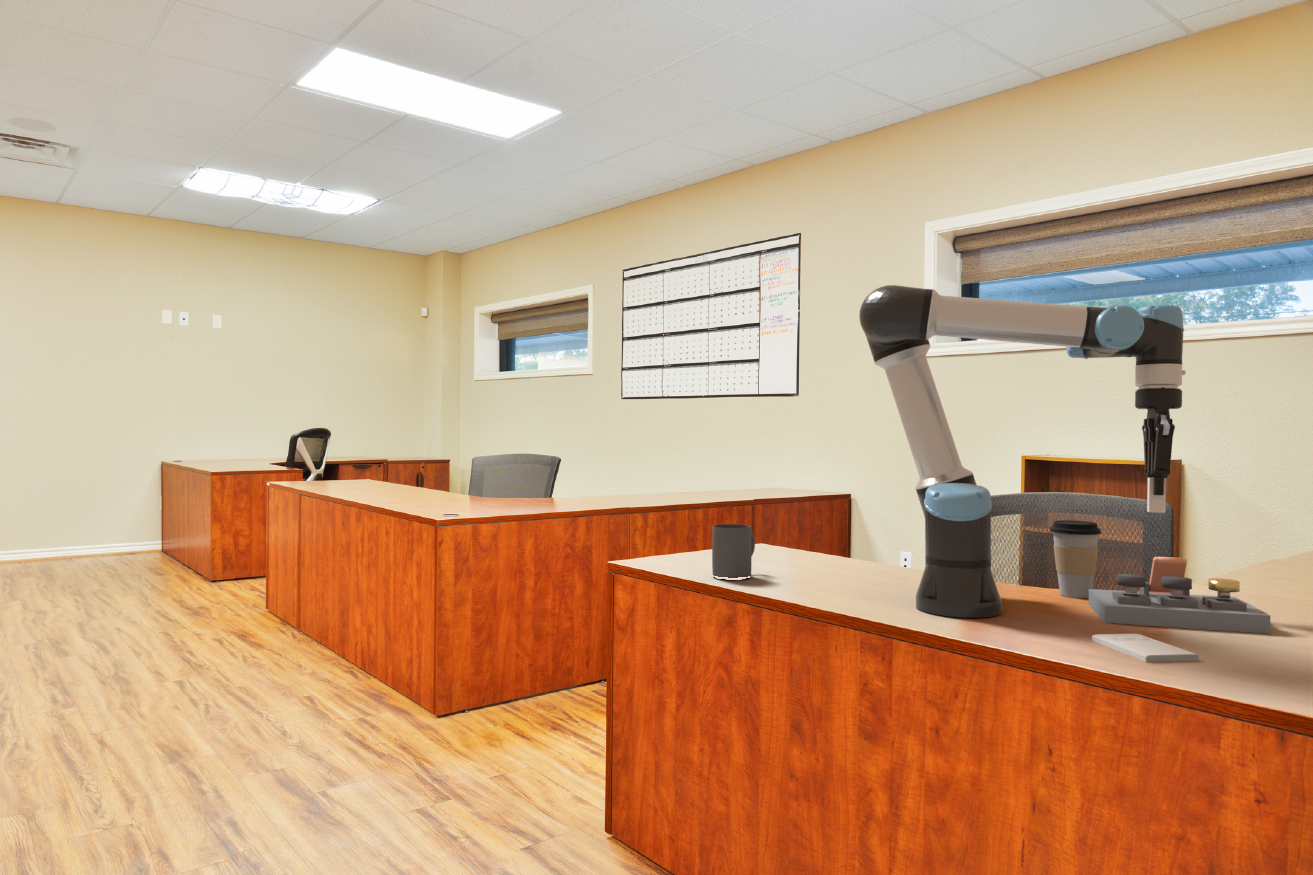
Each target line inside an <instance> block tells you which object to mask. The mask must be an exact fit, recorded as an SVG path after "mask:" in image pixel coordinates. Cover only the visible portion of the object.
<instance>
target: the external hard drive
mask: <svg viewBox="0 0 1313 875" xmlns="http://www.w3.org/2000/svg"><path fill="white" fill-rule="evenodd" d="M1091 640H1092V642H1095V643H1098V644H1100V645H1102V646H1105V647H1107V648H1110V649H1113V650H1115V651H1117V652H1120V653H1122V654H1125V655H1127V656H1129V657H1132V658H1134V659H1137V660H1139V661H1141V662H1145V663H1165V662H1167V663H1168V662H1169V663H1172V662H1173V663H1174V662H1199V661H1200V655H1199V654H1197V653H1195V652H1192V651H1189V650H1187V649H1184V648H1183V649H1182V648H1180V647H1177V646H1175V645H1171V644H1168V643H1166V642H1163V641H1160V640H1157V639H1154V638H1151V637H1147V636H1145V635H1144V634H1139V633H1108V634H1107V633H1103V634H1098V633H1097V634H1093V635H1091Z"/></svg>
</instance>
